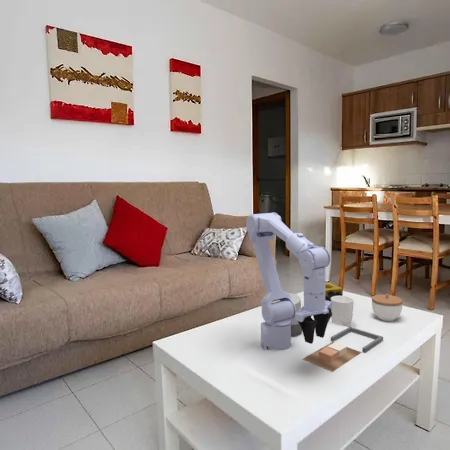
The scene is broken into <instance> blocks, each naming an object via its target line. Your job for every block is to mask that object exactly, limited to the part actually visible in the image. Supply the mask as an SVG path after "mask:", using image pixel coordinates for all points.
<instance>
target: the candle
mask: <svg viewBox="0 0 450 450" xmlns="http://www.w3.org/2000/svg"><path fill="white" fill-rule="evenodd" d="M343 291H344V290H343V287H341V286H338V285H335V284H334V283H332V282H330V281H329V282H326V281H325V301H326V300H327V301H331V297H333V296H344V294H343V293H344V292H343ZM328 310H329V311H330V312H331V309H328Z"/></svg>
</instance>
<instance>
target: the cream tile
mask: <svg viewBox="0 0 450 450" xmlns="http://www.w3.org/2000/svg"><path fill="white" fill-rule="evenodd" d="M327 347H328V348H331V349H333V350H336V351H339V354H338V357H341V356H342V355H344V354H346V353H347V346H346V345H343V344H341V343H338V342H335V341H334V343H333V344H331V345H329V346H327Z"/></svg>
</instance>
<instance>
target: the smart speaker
mask: <svg viewBox="0 0 450 450" xmlns="http://www.w3.org/2000/svg"><path fill="white" fill-rule="evenodd" d="M287 293H288V294H290V296H291V299H292V301H293V302H294V304H295V306H296V313H297V312H298V311H299V310H300V309H301V308H302V302H301V296H300V295H298V294H297V293H296V294H295V293H291V292H290V293H289V292H287ZM278 301H280V300H277V301H276V302H278ZM302 334H303V332H302V329H301V327H300V325H299V323H298V321H296V320H295V317H294V318H293V322H291V338H293V337H297V336H300V335H302Z"/></svg>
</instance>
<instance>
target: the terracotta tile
mask: <svg viewBox="0 0 450 450" xmlns="http://www.w3.org/2000/svg"><path fill="white" fill-rule="evenodd" d="M338 354H339V351H336V350H333V349H331V348H328V347H326V348H324V349H322V350H320V351H319V358H320V359H323V360H325V361H328V362H330V363H331V362H333V361H334V360H336V359H338Z"/></svg>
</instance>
